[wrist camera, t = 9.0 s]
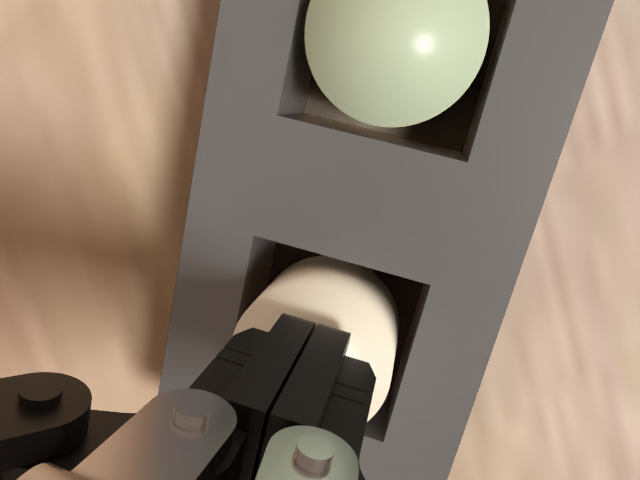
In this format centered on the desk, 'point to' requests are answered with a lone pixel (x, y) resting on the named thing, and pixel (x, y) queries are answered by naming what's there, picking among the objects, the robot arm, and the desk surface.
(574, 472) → the desk surface
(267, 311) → the cream button
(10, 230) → the desk surface
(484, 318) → the button panel
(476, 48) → the sage button
